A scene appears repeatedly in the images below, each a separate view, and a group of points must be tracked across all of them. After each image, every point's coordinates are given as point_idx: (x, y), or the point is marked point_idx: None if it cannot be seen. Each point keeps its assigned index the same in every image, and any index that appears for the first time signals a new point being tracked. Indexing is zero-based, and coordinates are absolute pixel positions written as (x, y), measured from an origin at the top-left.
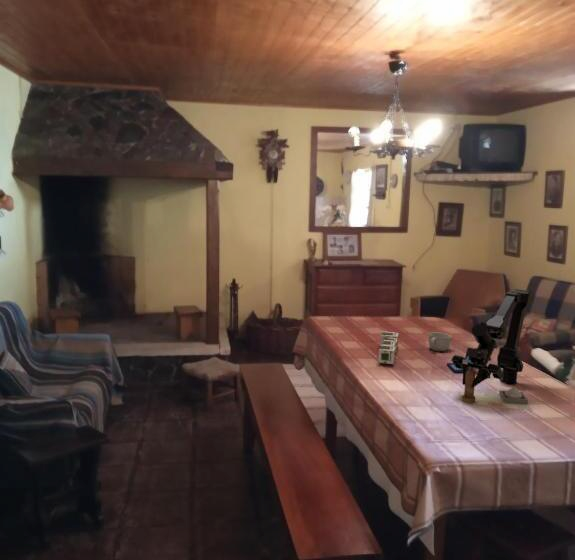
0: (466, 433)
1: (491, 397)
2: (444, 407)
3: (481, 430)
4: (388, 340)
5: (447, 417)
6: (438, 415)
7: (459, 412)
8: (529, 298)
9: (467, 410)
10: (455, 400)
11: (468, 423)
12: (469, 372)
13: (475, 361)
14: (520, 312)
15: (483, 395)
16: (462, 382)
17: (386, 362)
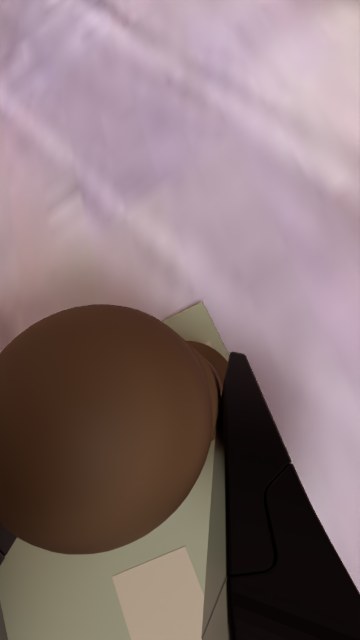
0: (99, 32)
1: (67, 591)
2: (298, 225)
3: (53, 94)
4: None
5: (224, 112)
6: (275, 103)
7: (194, 212)
8: None
9: (164, 269)
10: (290, 395)
11: (116, 119)
12: (71, 321)
13: None
14: None
15: (127, 606)
16: (246, 358)
17: None
